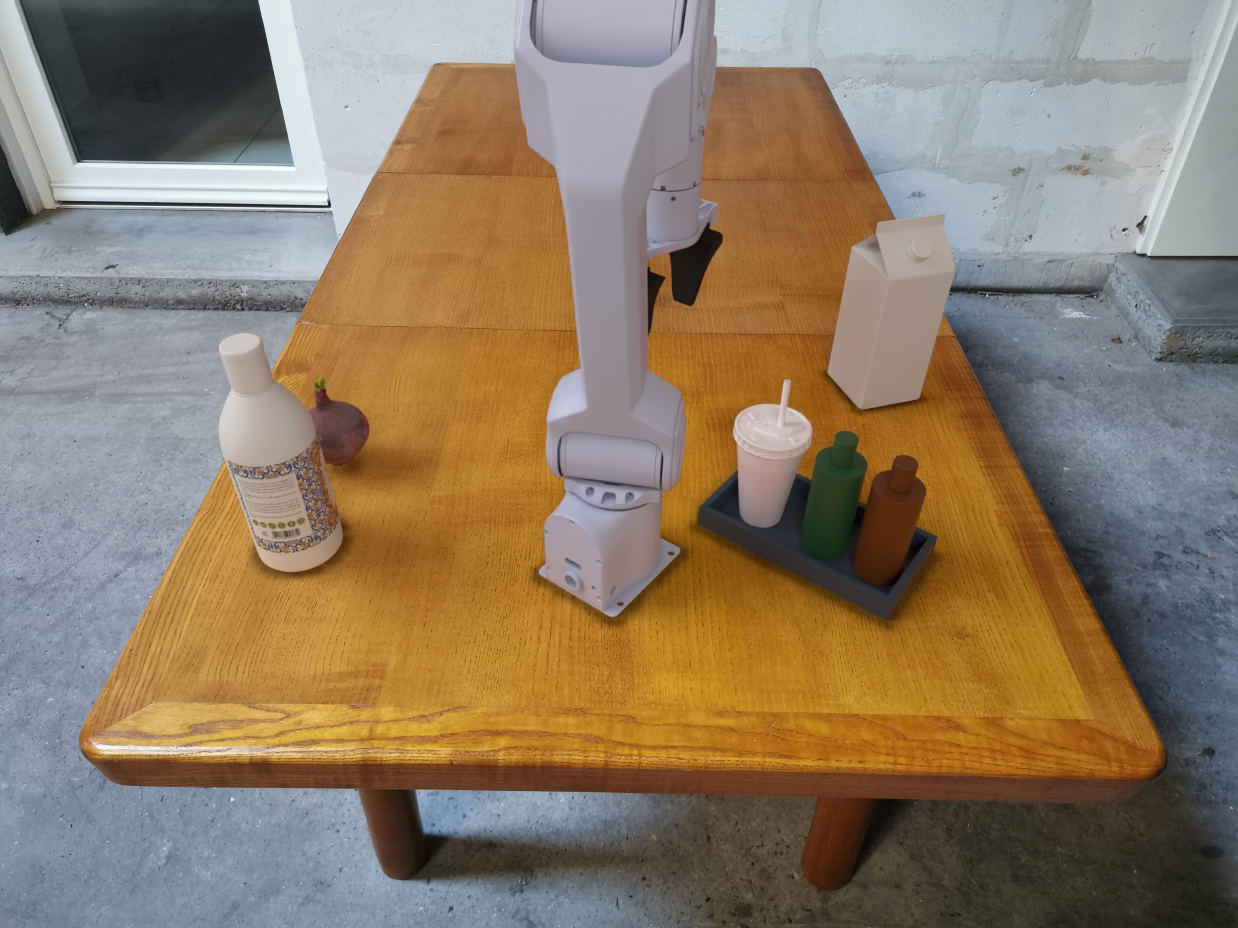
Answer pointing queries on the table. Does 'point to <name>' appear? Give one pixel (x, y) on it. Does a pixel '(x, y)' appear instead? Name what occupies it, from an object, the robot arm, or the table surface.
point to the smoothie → (769, 458)
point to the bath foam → (276, 463)
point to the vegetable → (338, 427)
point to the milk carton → (892, 311)
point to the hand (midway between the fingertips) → (661, 318)
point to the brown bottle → (889, 523)
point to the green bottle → (833, 498)
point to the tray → (787, 553)
